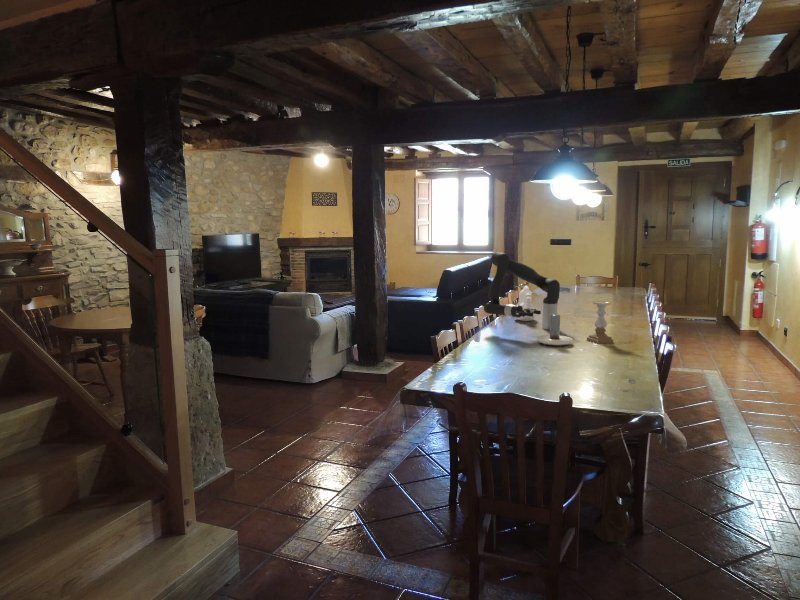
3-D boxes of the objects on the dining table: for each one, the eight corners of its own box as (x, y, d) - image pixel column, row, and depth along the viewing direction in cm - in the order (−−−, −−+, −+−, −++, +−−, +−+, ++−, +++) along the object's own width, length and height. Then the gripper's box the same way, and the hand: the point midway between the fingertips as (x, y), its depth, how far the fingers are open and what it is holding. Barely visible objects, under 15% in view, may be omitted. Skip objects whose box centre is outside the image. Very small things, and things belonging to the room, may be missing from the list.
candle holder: (586, 340, 338) (588, 301, 335) (601, 339, 341) (603, 300, 338) (598, 344, 328) (600, 303, 324) (613, 342, 331) (615, 302, 328)
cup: (550, 337, 333) (551, 314, 331) (560, 337, 331) (560, 314, 329) (549, 339, 328) (549, 315, 326) (558, 339, 326) (559, 316, 324)
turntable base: (544, 340, 339) (544, 337, 339) (568, 342, 333) (568, 339, 333) (540, 345, 326) (540, 342, 326) (565, 347, 321) (565, 344, 320)
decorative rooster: (514, 317, 415) (515, 284, 411) (536, 318, 411) (537, 284, 407) (511, 323, 391) (512, 288, 388) (534, 324, 387) (536, 289, 383)
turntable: (540, 336, 343) (540, 333, 342) (574, 339, 335) (574, 336, 334) (534, 343, 325) (534, 340, 324) (570, 346, 317) (570, 343, 316)
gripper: (507, 306, 342) (530, 309, 331) (519, 303, 352) (542, 305, 341) (507, 318, 343) (530, 321, 332) (519, 315, 353) (542, 318, 342)
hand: (536, 313), depth 337 cm, fingers open, 8 cm apart
